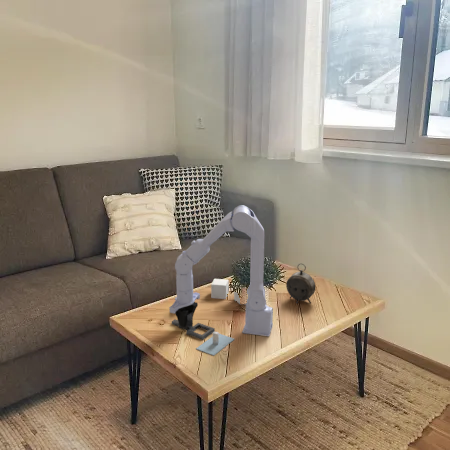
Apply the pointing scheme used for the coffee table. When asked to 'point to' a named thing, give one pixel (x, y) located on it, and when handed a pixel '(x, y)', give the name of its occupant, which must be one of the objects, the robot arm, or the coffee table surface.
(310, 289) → the alarm clock
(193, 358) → the coffee table surface
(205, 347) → the keeper
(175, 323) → the grey block with tab
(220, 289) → the white cube
